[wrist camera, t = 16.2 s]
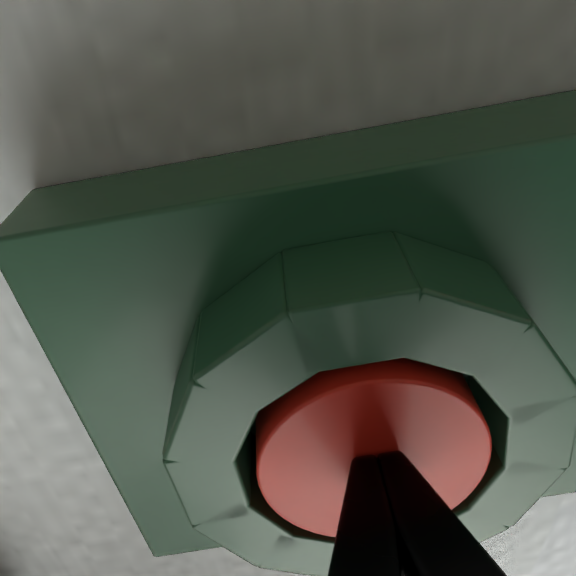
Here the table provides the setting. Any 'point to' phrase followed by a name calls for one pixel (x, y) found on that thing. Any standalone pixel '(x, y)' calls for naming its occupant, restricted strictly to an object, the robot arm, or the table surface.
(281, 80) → the table surface
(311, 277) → the button box
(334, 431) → the button
